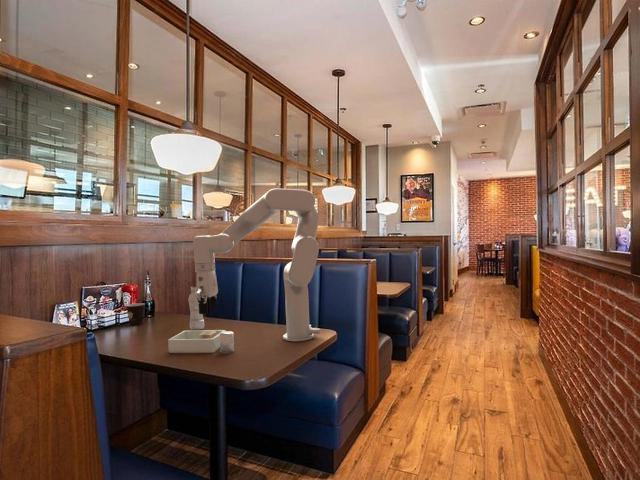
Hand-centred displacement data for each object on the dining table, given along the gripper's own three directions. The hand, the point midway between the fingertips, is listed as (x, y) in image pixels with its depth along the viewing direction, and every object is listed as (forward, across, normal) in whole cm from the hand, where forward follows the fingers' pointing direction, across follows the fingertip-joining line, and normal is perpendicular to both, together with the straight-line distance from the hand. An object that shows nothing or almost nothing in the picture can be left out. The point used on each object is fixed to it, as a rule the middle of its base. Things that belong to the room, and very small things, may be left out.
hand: (208, 311), depth 153 cm
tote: (+14, 0, +5) cm, 15 cm away
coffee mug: (+13, +40, +54) cm, 69 cm away
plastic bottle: (+14, +27, +18) cm, 35 cm away
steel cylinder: (+14, -6, -8) cm, 18 cm away
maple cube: (+14, 0, +1) cm, 14 cm away
